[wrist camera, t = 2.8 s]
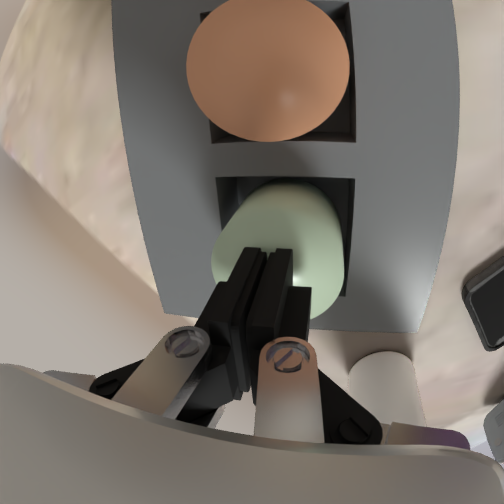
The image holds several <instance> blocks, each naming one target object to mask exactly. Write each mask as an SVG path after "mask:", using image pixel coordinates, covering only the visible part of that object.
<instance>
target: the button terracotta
mask: <svg viewBox="0 0 504 504" xmlns="http://www.w3.org/2000/svg"><path fill="white" fill-rule="evenodd" d="M349 68H350V62H349V55H348V50H347V47H346V43H345V41H344V38H343V36H342V34H341V32H340V31H339V29H338V28H337V26H336V24H335V23H334V22H333V21H332V20H331V19H330V17H329V16H328V15H327V14H326V13H324V12H323V11H322V10H321V9H320V8H318V7H317V6H315V5H314V4H312V3H311V2H309V1H307V0H229V1H227V2H225V3H223V4H222V5H220V6H219V7H217V8H216V9H215V10H213V11H212V12H211V13H210V14H209V15H208V16H207V17H206V18H205V19H204V20H203V22H202V23H201V24H200V26H199V27H198V28H197V30H196V32H195V34H194V35H193V38H192V40H191V43H190V45H189V49H188V53H187V61H186V73H187V79H188V84H189V87H190V91H191V93H192V95H193V97H194V100H195V101H196V103H197V105H198V106H199V108H200V109H201V110H202V112H203V113H204V114H205V115H206V116H207V117H208V118H209V119H210V120H211V121H212V122H213V123H214V124H216V125H217V126H219V127H220V128H221V129H223V130H225V131H227V132H228V133H230V134H233V135H235V136H238V137H240V138H244V139H248V140H253V141H259V142H275V141H283V140H288V139H292V138H295V137H298V136H301V135H303V134H305V133H307V132H309V131H311V130H313V129H314V128H316V127H317V126H319V125H320V124H321V123H323V122H324V121H325V120H326V119H327V118H328V117H329V116H330V115H331V114H332V113H333V112H334V110H335V109H336V107H337V106H338V104H339V103H340V101H341V99H342V97H343V95H344V93H345V90H346V87H347V84H348V79H349Z"/></svg>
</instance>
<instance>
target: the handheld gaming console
mask: <svg viewBox="0 0 504 504" xmlns="http://www.w3.org/2000/svg"><path fill="white" fill-rule="evenodd" d="M483 426H484V429H485V433H486V437H487V440H488V443H489V445H490V448H491V451H492V453H493V456H494V457H495V461H496V462H498V463H499V464H504V399H503V400H502V401H501V402H500V403H499V404H498V405H497V406H496V407H495V408H494V409H493V410H491V411H490V412H489V413H488V414H487V416H486V418H485V420H484V425H483Z"/></svg>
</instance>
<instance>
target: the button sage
mask: <svg viewBox="0 0 504 504" xmlns="http://www.w3.org/2000/svg"><path fill="white" fill-rule="evenodd" d="M244 247H259V248H261V251H262V252H266V253H267V260H268V257H269V254H270V252H275V251H276V249H277V248H283V249H293V286H303V287H312V297H311V313H310V319H312V318H315V317H316V316H318V315H320V314H322V313H323V312H324V311H326V310H327V309H328V308H329V307H330V306H331V305H332V304H333V303H334V301H335V300H336V299H337V297H338V295H339V293H340V291H341V288H342V285H343V280H344V259H343V244H342V231H341V222H340V217H339V214H338V211H337V209H336V207H335V205H334V204H333V202H332V201H331V199H330V198H329V197H328V196H327V195H326V194H325V193H324V192H323V191H322V190H320V189H319V188H317V187H316V186H314V185H312V184H310V183H308V182H305V181H302V180H297V179H289V178H285V179H276V180H271V181H268V182H266V183H264V184H261V185H260V186H258V187H257V188H255V189H254V190H253V191H252V192H250V193H249V195H248V196H247V197H246V198H245V200H244V201H243V202H242V204H241V205H240V207H239V208H238V209H237V211H236V212H235V214H234V215H233V217H232V218H231V219H230V221H229V222H228V224H227V225H226V226H225V228H224V229H223V231H222V232H221V234H220V235H219V237H218V239H217V240H216V242H215V245H214V247H213V251H212V257H211V266H212V273H213V277H214V280H215V282H216V284H218V282H220V281H226V282H227V280H228V278H229V276H230V274H231V272H232V270H233V268H234V266H235V264H236V262H237V260H238V258H239V256H240V255H241V253H242V251H243V249H244Z"/></svg>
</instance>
